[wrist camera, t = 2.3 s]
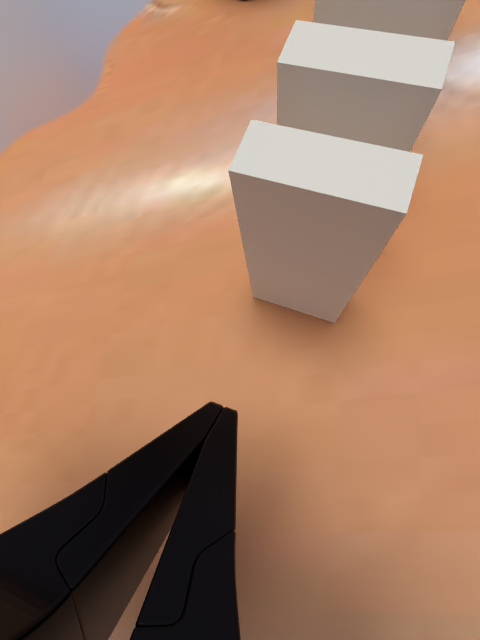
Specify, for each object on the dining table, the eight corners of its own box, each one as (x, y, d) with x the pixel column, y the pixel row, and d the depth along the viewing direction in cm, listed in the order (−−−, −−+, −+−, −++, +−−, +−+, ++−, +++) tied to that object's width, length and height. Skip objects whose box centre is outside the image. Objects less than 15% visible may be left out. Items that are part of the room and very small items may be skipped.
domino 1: (334, 323, 19) (406, 213, 9) (253, 297, 20) (228, 170, 10) (344, 293, 20) (423, 154, 9) (263, 269, 21) (251, 119, 10)
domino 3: (374, 199, 21) (471, -13, 11) (298, 180, 22) (318, -28, 12) (381, 174, 22) (482, -52, 11) (306, 157, 23) (334, -64, 12)
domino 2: (355, 258, 20) (441, 89, 10) (276, 236, 21) (277, 62, 11) (364, 231, 21) (455, 41, 10) (286, 210, 22) (296, 20, 11)
